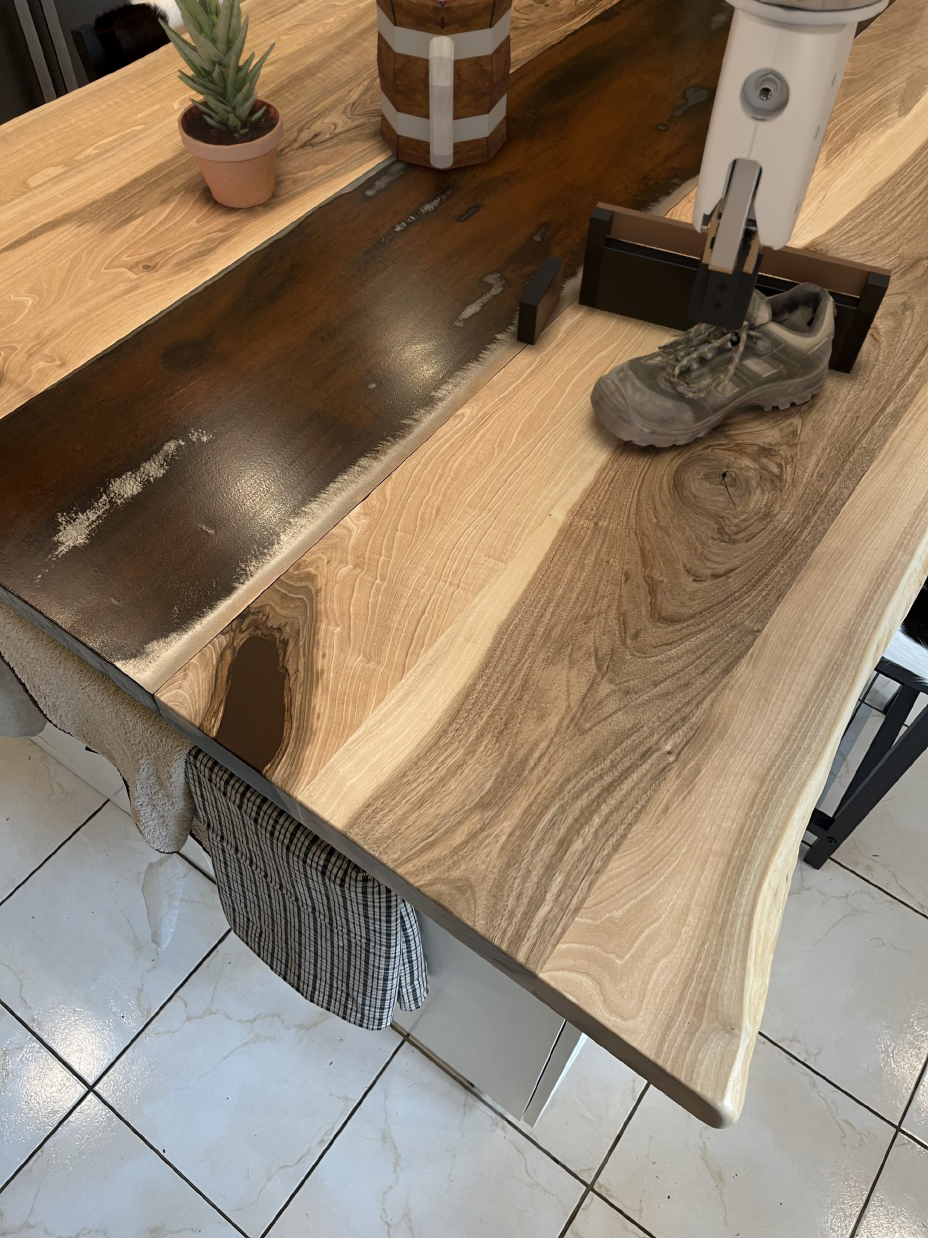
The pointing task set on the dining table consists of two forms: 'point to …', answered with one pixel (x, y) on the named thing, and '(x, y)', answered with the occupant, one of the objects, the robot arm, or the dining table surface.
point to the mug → (444, 79)
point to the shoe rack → (666, 279)
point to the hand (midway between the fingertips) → (716, 316)
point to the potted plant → (226, 105)
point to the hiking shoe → (721, 370)
